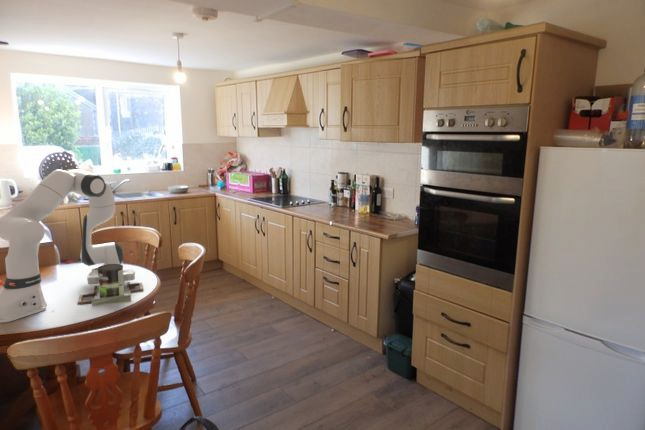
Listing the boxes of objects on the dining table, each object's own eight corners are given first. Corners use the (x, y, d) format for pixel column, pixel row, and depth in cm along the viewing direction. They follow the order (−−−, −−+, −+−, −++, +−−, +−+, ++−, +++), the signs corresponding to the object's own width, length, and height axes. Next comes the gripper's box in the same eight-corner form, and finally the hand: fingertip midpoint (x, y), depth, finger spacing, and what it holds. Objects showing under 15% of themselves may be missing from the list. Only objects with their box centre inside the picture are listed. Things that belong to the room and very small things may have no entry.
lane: (144, 298, 192) (143, 293, 192) (77, 307, 181) (77, 301, 181) (141, 282, 214) (141, 277, 214) (81, 289, 203) (81, 284, 202)
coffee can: (109, 302, 187) (107, 271, 185) (94, 298, 192) (92, 267, 189) (129, 295, 196) (128, 265, 194) (114, 291, 201) (112, 262, 198)
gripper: (135, 277, 215) (136, 285, 202) (88, 282, 206) (87, 291, 194) (134, 265, 214) (135, 273, 201) (88, 269, 205) (86, 277, 193)
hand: (111, 282), depth 197 cm, fingers closed, pressing on coffee can
